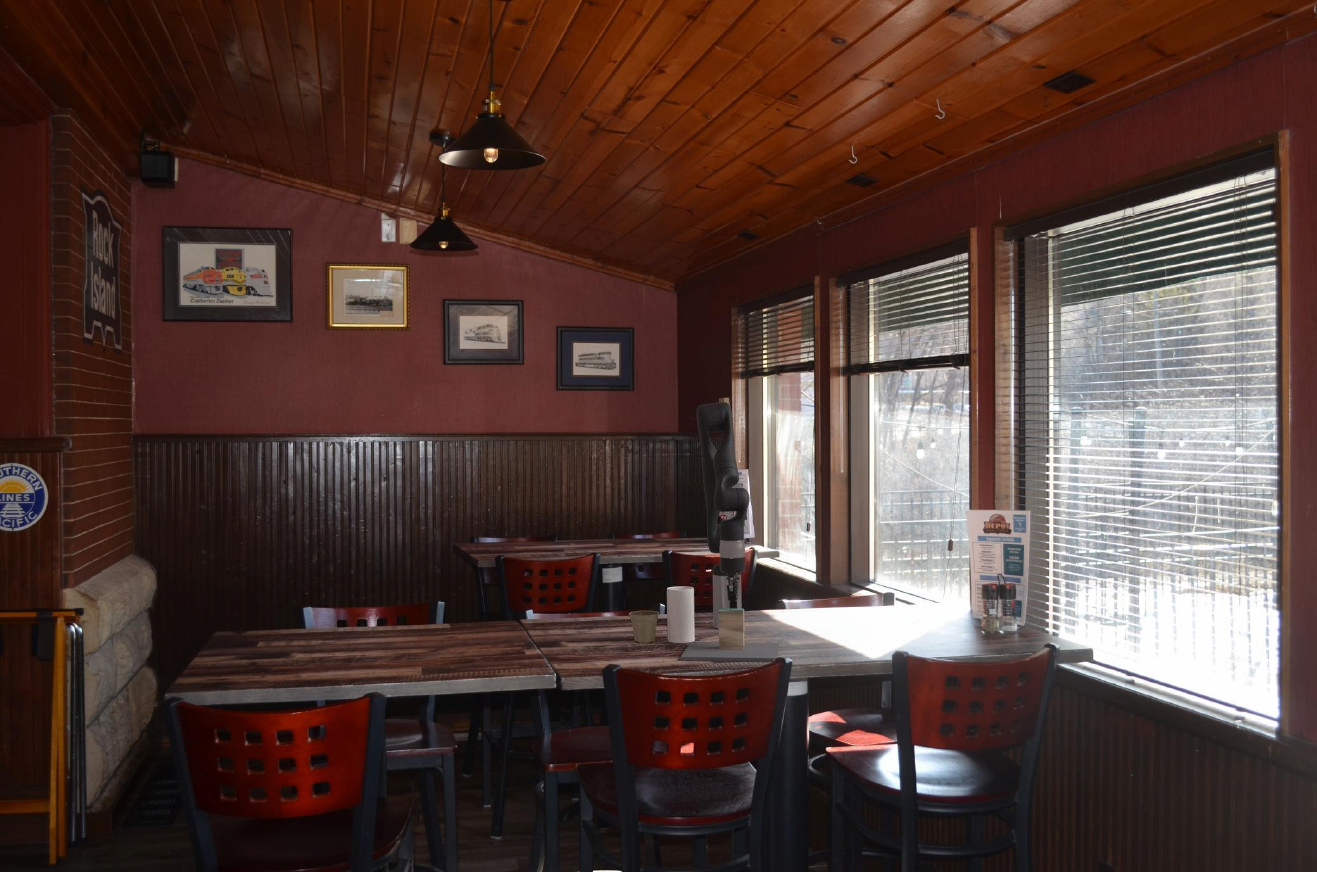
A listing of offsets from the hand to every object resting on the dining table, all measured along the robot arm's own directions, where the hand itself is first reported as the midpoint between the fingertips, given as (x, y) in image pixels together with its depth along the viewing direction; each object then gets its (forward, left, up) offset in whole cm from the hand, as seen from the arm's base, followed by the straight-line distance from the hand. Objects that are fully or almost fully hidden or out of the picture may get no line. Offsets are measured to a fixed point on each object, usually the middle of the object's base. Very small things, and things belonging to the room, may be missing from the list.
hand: (733, 614), depth 316 cm
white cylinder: (-9, -17, -10) cm, 22 cm away
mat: (+10, 0, -10) cm, 14 cm away
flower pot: (-7, -28, -10) cm, 31 cm away
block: (+7, 0, -9) cm, 11 cm away
